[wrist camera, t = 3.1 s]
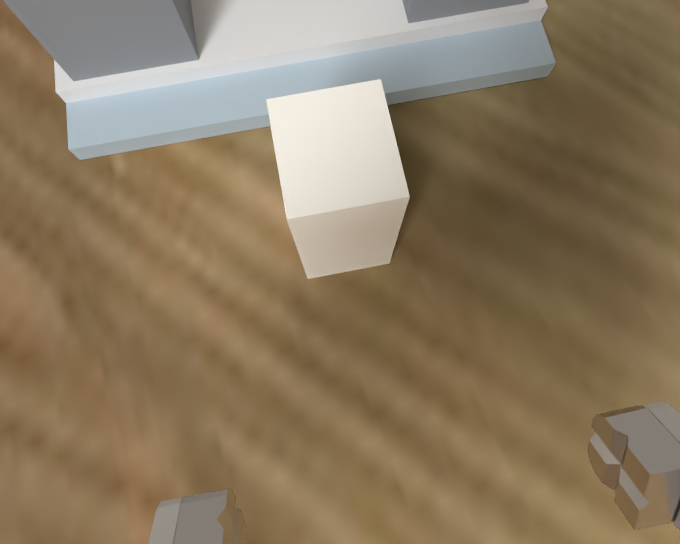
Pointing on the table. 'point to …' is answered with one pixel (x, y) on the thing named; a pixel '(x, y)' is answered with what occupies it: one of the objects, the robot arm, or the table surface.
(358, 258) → the block
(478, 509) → the table surface
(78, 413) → the table surface
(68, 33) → the twin block stand
